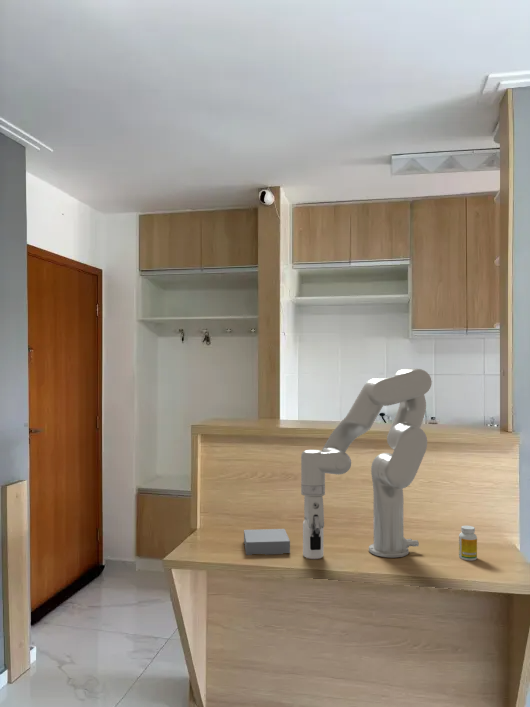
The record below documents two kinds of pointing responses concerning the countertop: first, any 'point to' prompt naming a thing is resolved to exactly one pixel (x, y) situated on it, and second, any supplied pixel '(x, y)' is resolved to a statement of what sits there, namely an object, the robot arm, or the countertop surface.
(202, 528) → the countertop surface
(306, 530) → the can
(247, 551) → the base block
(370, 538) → the countertop surface
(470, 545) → the supplement bottle
